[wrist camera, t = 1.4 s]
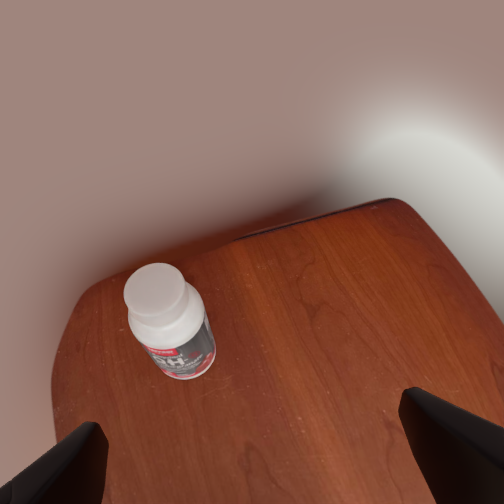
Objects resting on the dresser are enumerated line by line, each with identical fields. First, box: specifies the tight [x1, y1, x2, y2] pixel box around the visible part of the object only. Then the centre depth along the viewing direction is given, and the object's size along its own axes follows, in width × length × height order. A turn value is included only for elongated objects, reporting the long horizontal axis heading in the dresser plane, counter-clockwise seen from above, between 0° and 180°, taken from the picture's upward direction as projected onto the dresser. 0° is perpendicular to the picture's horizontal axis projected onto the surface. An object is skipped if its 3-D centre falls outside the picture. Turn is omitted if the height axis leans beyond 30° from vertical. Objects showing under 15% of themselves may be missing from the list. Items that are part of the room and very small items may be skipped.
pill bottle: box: [124, 263, 216, 380], centre depth 22 cm, size 5×5×10 cm
